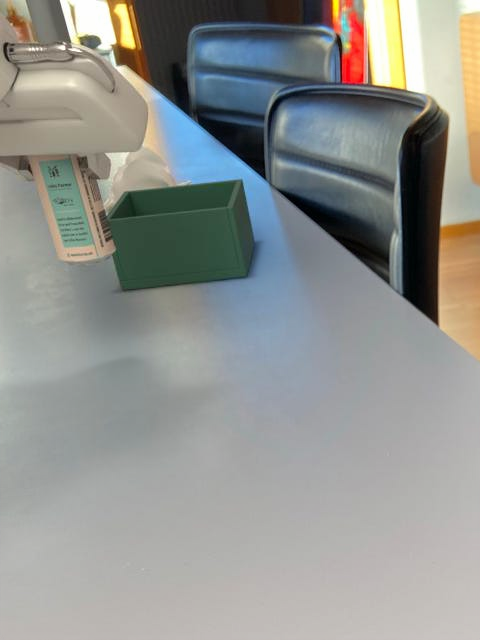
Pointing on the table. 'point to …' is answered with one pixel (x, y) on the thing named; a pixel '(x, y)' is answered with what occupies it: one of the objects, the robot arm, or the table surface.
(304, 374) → the table surface
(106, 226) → the teal-label supplement bottle
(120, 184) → the elephant figurine
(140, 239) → the green storage bin
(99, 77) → the robot arm
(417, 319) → the table surface
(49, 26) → the gray upright slab
